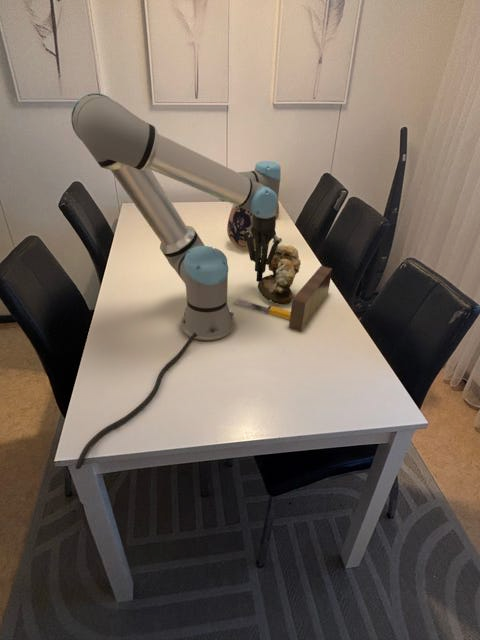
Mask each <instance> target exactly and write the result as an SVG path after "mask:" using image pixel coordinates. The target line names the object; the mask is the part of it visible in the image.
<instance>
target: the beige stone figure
mask: <svg viewBox="0 0 480 640" xmlns="http://www.w3.org/2000/svg"><path fill="white" fill-rule="evenodd" d="M267 268H268V271H270V272H272V274H269V275H266V276H262V279H261V280H260V282H258V283H257V289H258V291H259V293H260V294H261V296H262V297H263V298H264V299H266V300H267V301H269V302H270V303H272V304H277V305H282V306H284V305H289V304H290V303H292V299H293V291H292V290H291V287H292V285H293V283H294V280H295V278H296V275H297V274H298V273H299V272H300V269H301V259H300V257H299V250H298V249H297V248H296V247H295V246H293V245H285V244H280V245H279V244H278V247H277V249H276V252H275V254H274V257H273V259H272V262H271V263H270V264H269V265H267Z"/></svg>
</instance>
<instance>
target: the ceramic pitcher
mask: <svg viewBox="0 0 480 640" xmlns="http://www.w3.org/2000/svg"><path fill="white" fill-rule="evenodd" d="M252 215H253V214H252V213H251V212H250V211H247V210H245V209H243V208H240V207H238V206H236V205H234V204H232V207H231V210H230V212H229V215H228V220H227V227H226V232H227V236H228V239H229V241H230V242H231V244H232V245H233V246H234V247H236V248H238V249H240V250H244V251H248V245H247V240H246V238H245V236H244V233H245V232H246V231H248V230H251V227H252ZM252 236H253V235H252ZM253 241H254V246H255V247H256V245H255V239H254V237H253Z"/></svg>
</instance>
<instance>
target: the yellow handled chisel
mask: <svg viewBox="0 0 480 640" xmlns="http://www.w3.org/2000/svg"><path fill="white" fill-rule="evenodd" d="M235 305H237V306H240V307H244V308H246V309H250V310H254V311H257V312H259V313H262V314H268V315H271V316H274V317H277V318H281V319H284V320H287V321H290V315H291V310H286V309H283V308H279V307H276V306H274V305H269V306H268V307H265V306H261V305H258V304H256V303H255V304H254V303H252V302H248V301H245V300H242V299H238V300H237V301H236V302H235Z"/></svg>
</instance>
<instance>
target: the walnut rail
mask: <svg viewBox="0 0 480 640" xmlns="http://www.w3.org/2000/svg"><path fill="white" fill-rule="evenodd" d="M332 273H333V268H332V267H329V266H324V265H320V266H319V268H317V270H316V271H315V272H314V273H313V274H312V275H311V277H310V278H309V279H308V280H307V281H306V283H305V284H304V285H303V286H302V287H301V288H300V290H299V291H298V292H297V293H296V294H295V296H294V297H292V300H291V307H290V312H291V315H290V320H289V324H288V329H292V330H295V331H298V332H302V331H303V330H304V328H305V327H306V326H307V324H308V323H309V321H310V320H311V319H312V317H313V316H314V314H315V313H316V312H317V310H318V309H319V307H321V305H322V304H323V302H324V301H325V299H326V298H327V296H328V295H329V291H330V285H331V279H332Z"/></svg>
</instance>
